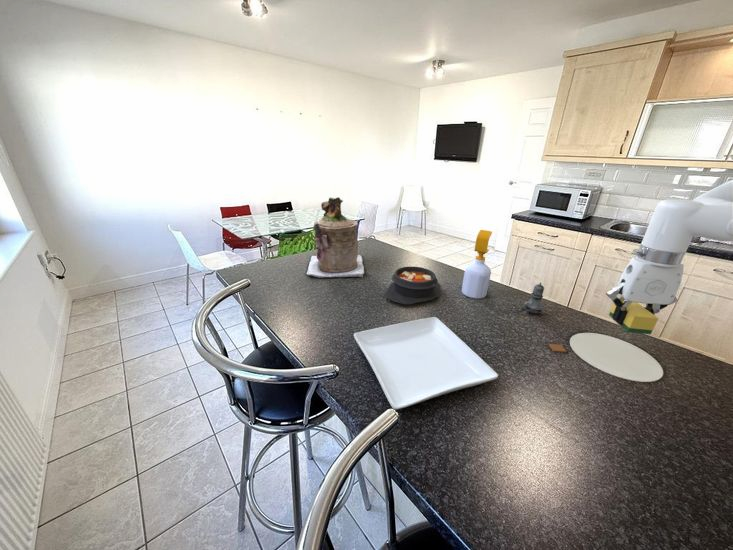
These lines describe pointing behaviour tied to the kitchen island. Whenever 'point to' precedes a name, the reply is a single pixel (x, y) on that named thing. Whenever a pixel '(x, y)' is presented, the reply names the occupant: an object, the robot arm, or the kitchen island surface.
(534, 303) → the grey chess piece
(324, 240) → the cookie jar
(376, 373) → the square plate
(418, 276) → the casserole
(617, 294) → the robot arm
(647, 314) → the sponge
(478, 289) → the soap bottle
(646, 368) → the plate
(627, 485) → the kitchen island surface
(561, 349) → the block
